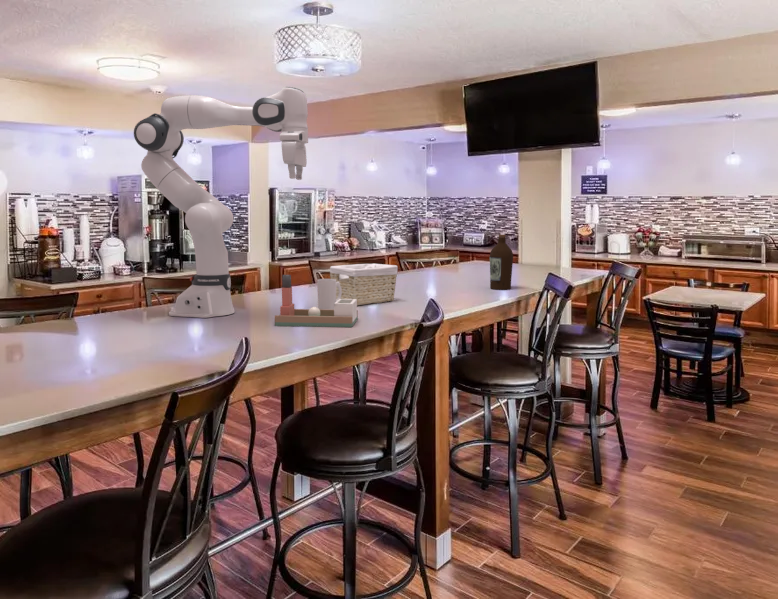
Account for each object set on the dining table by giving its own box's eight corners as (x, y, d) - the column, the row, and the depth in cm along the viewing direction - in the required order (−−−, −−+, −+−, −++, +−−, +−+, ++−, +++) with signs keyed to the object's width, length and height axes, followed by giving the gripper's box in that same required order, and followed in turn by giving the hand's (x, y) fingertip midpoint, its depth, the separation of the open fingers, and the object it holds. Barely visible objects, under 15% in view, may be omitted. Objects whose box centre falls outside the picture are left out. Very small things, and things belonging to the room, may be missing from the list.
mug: (325, 315, 220) (325, 281, 218) (313, 313, 225) (313, 279, 223) (347, 312, 227) (347, 279, 225) (335, 309, 232) (335, 277, 230)
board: (274, 325, 201) (274, 303, 200) (285, 318, 215) (285, 297, 214) (351, 327, 199) (351, 304, 198) (357, 319, 213) (357, 298, 212)
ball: (307, 319, 205) (306, 307, 204) (309, 317, 209) (309, 305, 208) (319, 320, 205) (319, 307, 204) (321, 317, 209) (321, 306, 208)
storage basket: (373, 296, 265) (372, 262, 263) (399, 301, 253) (399, 264, 251) (328, 302, 249) (327, 265, 246) (354, 307, 237) (354, 269, 235)
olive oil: (500, 286, 298) (501, 233, 294) (516, 289, 289) (518, 234, 285) (484, 288, 292) (485, 234, 288) (500, 290, 283) (502, 235, 279)
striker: (280, 319, 204) (279, 276, 202) (285, 315, 211) (284, 274, 209) (289, 319, 204) (288, 276, 202) (294, 315, 211) (293, 274, 209)
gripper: (292, 140, 222) (293, 180, 224) (278, 134, 202) (279, 178, 204) (310, 140, 221) (311, 180, 223) (297, 134, 201) (298, 178, 203)
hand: (295, 179), depth 213 cm, fingers open, 8 cm apart
